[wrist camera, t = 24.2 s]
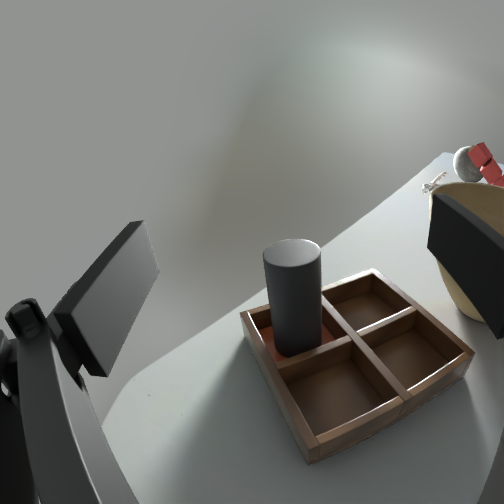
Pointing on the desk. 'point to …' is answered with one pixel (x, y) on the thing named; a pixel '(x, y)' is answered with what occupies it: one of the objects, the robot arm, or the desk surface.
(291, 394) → the grid
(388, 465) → the desk surface
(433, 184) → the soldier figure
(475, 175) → the decorative ball
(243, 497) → the desk surface
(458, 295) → the beige bowl
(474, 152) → the toy blocks
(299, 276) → the dark grey cylinder
